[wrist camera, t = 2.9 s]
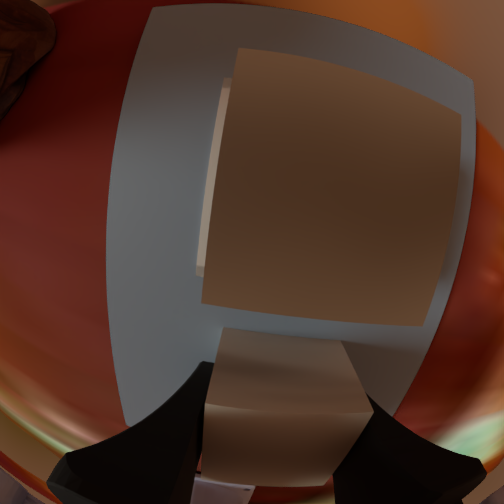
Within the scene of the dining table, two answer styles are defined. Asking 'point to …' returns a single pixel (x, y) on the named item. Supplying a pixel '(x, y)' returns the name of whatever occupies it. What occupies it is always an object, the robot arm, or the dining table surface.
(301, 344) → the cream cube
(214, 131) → the mat
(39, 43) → the wooden figurine
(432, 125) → the walnut base block
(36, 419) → the dining table surface
